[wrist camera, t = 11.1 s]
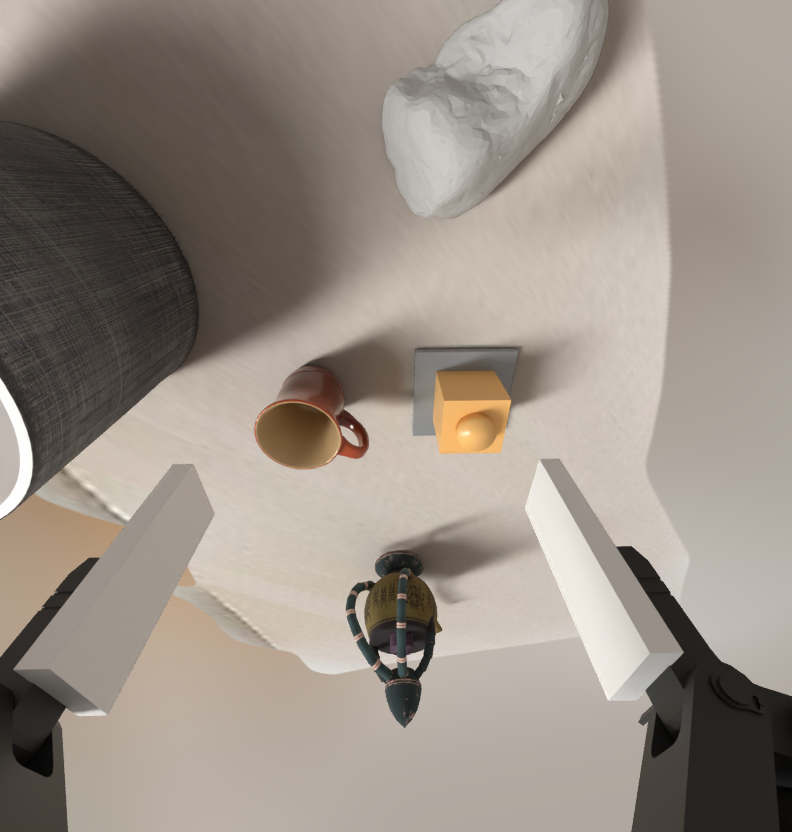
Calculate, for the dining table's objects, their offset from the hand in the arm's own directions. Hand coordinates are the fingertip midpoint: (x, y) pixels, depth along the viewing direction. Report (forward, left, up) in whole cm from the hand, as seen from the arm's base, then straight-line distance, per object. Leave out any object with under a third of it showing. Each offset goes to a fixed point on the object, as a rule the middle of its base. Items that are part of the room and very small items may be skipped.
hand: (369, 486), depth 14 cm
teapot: (+52, +4, -29) cm, 60 cm away
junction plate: (+12, +10, -29) cm, 33 cm away
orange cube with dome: (+12, +10, -28) cm, 32 cm away
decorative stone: (-15, +8, -29) cm, 34 cm away
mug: (+12, -7, -29) cm, 32 cm away
